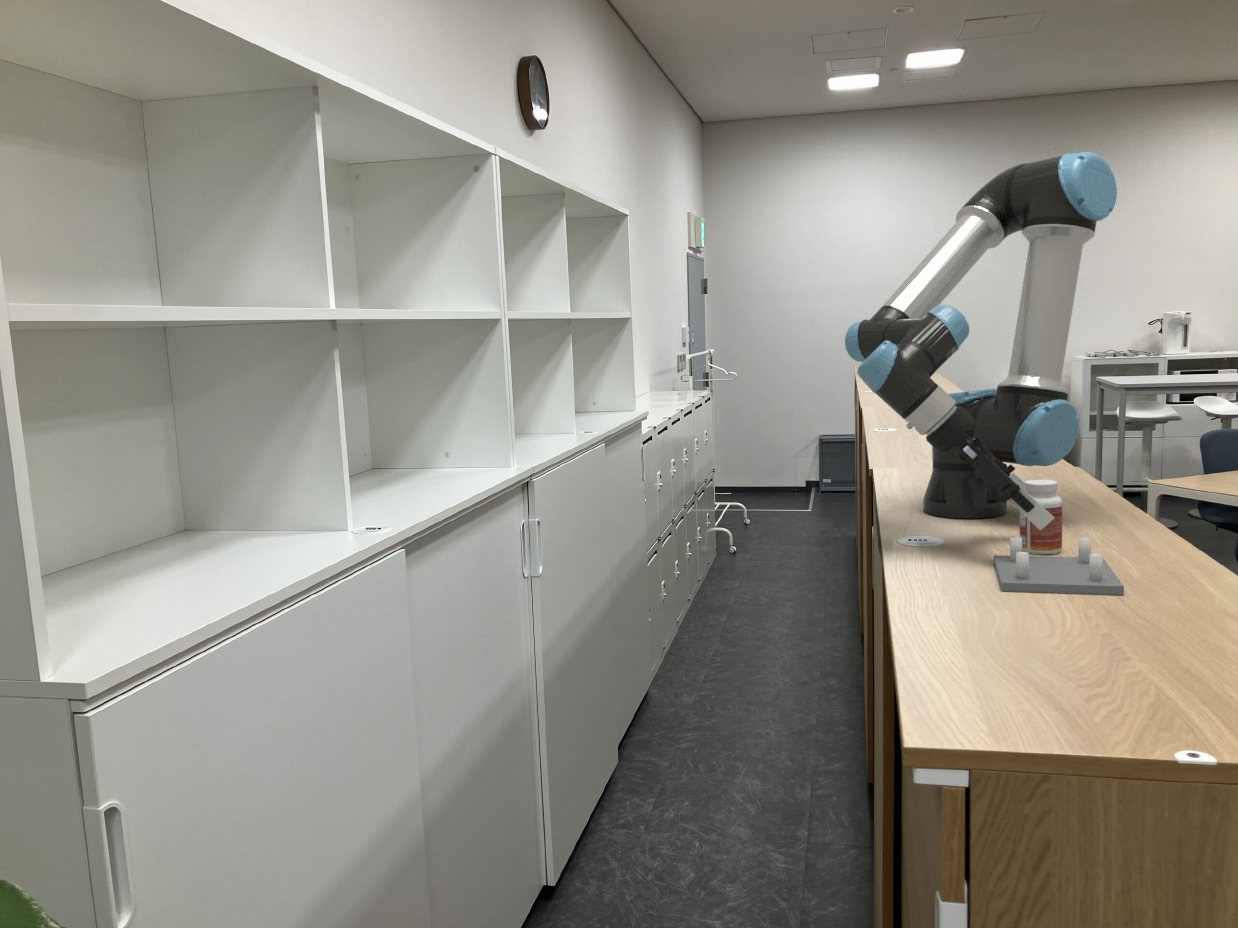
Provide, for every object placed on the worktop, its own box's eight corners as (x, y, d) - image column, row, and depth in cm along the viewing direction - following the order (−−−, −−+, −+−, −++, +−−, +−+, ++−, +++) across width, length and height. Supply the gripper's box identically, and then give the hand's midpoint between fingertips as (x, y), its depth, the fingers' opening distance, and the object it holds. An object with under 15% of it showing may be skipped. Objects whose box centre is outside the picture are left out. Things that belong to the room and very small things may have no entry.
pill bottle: (1070, 550, 147) (1071, 481, 145) (1047, 557, 143) (1048, 486, 142) (1034, 543, 152) (1034, 477, 150) (1011, 550, 149) (1011, 482, 147)
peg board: (993, 562, 142) (993, 532, 141) (1102, 565, 137) (1103, 534, 137) (1001, 591, 128) (1001, 557, 127) (1123, 595, 123) (1124, 560, 123)
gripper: (923, 428, 162) (1016, 514, 159) (923, 448, 138) (1031, 549, 136) (956, 397, 159) (1050, 483, 157) (961, 412, 136) (1072, 514, 133)
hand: (1042, 514), depth 146 cm, fingers open, 13 cm apart
